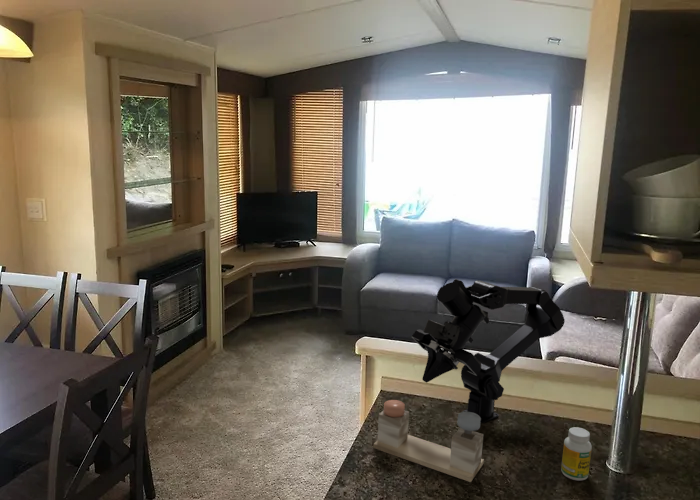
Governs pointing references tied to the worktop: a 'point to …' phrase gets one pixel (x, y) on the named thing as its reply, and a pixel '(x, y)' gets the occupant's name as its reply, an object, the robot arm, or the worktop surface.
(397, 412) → the terracotta key
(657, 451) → the worktop surface
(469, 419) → the slate key
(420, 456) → the stand
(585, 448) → the supplement bottle
